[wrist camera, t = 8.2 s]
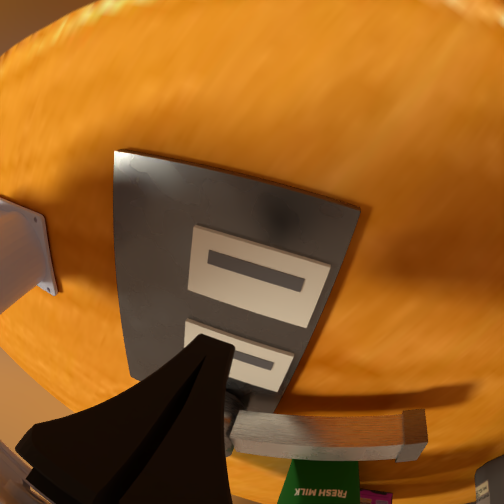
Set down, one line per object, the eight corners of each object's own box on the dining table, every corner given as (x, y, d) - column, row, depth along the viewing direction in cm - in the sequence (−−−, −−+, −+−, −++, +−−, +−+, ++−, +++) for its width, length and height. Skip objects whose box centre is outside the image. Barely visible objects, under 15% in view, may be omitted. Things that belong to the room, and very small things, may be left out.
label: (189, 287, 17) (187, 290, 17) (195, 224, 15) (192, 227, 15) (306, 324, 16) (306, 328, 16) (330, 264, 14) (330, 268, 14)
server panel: (133, 372, 24) (130, 376, 24) (121, 149, 15) (114, 150, 14) (266, 423, 23) (264, 428, 22) (359, 207, 13) (360, 211, 12)
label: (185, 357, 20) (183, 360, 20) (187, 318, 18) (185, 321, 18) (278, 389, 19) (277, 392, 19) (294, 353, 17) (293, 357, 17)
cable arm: (207, 413, 23) (190, 450, 19) (193, 385, 21) (172, 425, 18) (412, 422, 17) (414, 466, 14) (424, 393, 16) (430, 442, 12)
